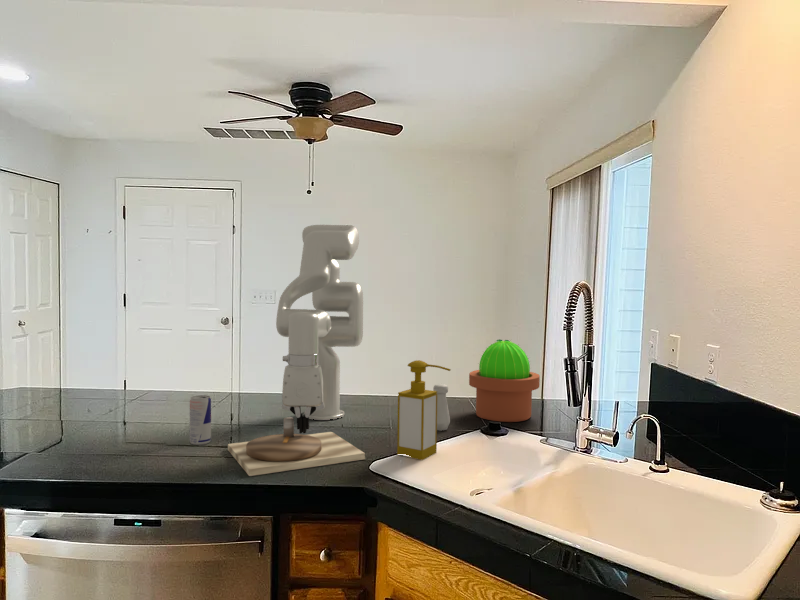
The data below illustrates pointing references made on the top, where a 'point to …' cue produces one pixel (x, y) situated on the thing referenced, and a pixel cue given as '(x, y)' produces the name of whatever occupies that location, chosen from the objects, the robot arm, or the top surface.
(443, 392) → the salt shaker
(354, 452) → the wooden cutting board
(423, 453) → the soap bottle
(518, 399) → the potted cactus
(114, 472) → the top surface
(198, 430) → the energy drink
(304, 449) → the dial
